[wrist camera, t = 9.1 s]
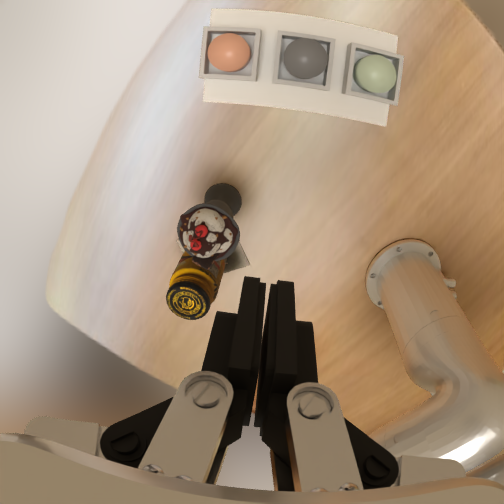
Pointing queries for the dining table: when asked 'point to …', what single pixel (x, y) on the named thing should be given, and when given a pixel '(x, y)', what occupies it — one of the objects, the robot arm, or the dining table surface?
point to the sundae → (211, 226)
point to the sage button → (374, 74)
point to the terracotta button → (229, 52)
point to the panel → (286, 85)
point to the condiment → (199, 283)
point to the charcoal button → (305, 58)
